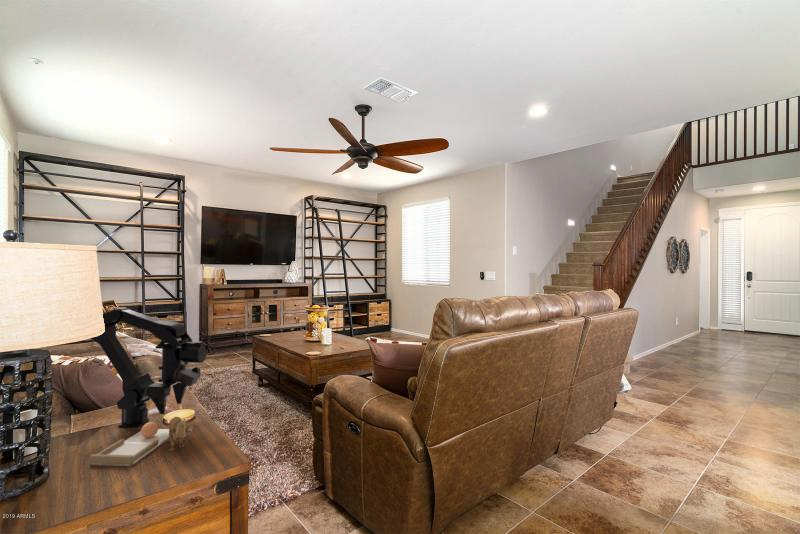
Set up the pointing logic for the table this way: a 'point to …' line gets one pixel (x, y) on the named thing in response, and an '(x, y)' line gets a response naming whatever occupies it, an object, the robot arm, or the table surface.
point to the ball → (149, 429)
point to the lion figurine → (178, 431)
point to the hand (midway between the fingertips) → (171, 408)
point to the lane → (129, 449)
